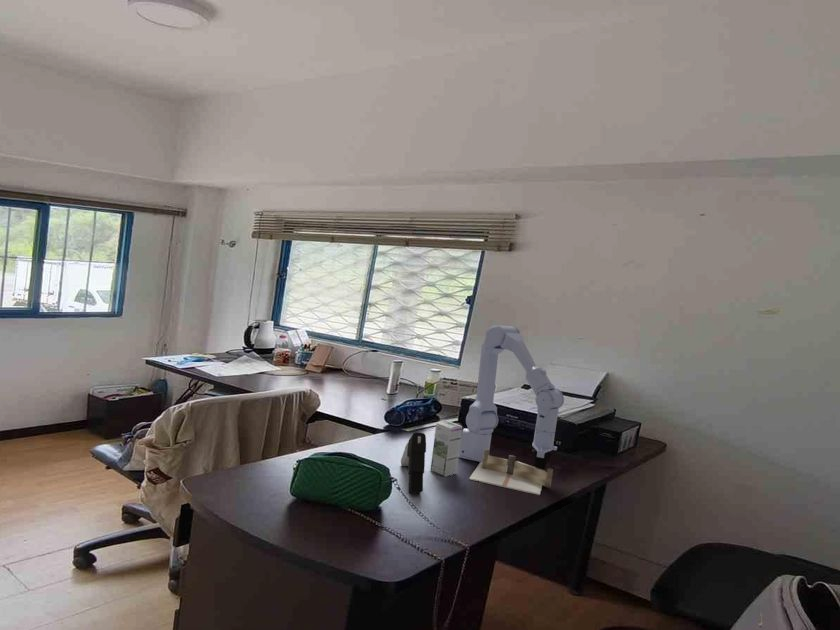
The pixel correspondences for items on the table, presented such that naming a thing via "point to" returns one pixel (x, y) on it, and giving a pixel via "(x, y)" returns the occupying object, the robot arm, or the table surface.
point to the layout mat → (505, 480)
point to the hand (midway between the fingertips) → (538, 475)
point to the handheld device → (415, 461)
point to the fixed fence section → (498, 463)
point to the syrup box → (446, 448)
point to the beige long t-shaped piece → (533, 473)
